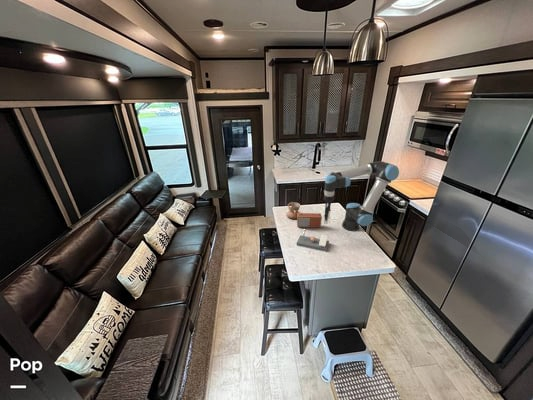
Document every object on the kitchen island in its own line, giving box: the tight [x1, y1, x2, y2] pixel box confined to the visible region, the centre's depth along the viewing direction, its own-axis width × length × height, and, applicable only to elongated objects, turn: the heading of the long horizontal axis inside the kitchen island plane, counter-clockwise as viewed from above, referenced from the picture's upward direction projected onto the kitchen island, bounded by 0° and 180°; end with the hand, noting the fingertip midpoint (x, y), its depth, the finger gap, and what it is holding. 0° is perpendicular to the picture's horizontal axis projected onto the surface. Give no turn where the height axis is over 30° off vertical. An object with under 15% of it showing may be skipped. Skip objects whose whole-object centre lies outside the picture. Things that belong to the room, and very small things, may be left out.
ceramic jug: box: [286, 201, 301, 220], centre depth 219 cm, size 18×14×14 cm
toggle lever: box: [302, 228, 307, 239], centre depth 179 cm, size 2×2×8 cm
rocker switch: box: [319, 234, 328, 247], centre depth 172 cm, size 5×11×1 cm, turn 157°
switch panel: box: [296, 235, 330, 252], centre depth 176 cm, size 24×12×4 cm, turn 67°
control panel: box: [296, 212, 323, 228], centre depth 200 cm, size 21×7×15 cm, turn 85°
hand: (326, 220), depth 177 cm, fingers open, 9 cm apart
